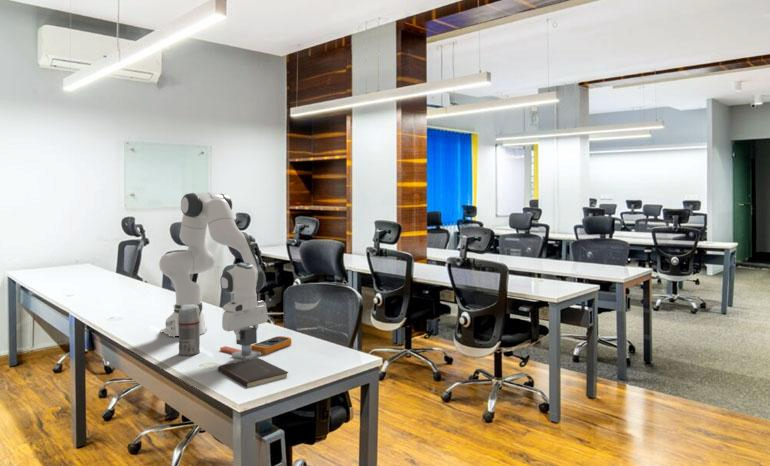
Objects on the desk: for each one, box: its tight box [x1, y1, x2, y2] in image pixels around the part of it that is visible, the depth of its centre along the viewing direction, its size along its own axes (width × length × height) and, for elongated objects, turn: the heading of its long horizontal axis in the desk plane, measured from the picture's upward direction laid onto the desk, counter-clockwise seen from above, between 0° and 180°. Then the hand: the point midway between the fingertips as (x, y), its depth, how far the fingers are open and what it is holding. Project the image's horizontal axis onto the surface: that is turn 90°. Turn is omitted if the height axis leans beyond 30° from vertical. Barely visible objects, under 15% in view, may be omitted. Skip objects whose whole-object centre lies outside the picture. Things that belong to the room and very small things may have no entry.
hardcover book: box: [217, 357, 289, 388], centre depth 188 cm, size 16×23×2 cm
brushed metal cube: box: [235, 326, 258, 346], centre depth 209 cm, size 6×6×6 cm
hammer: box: [219, 344, 262, 361], centre depth 213 cm, size 19×8×5 cm, turn 54°
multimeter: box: [251, 335, 292, 355], centre depth 221 cm, size 9×18×3 cm, turn 152°
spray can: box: [178, 304, 201, 357], centre depth 213 cm, size 8×8×20 cm
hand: (246, 337), depth 209 cm, fingers closed on brushed metal cube, 6 cm apart
